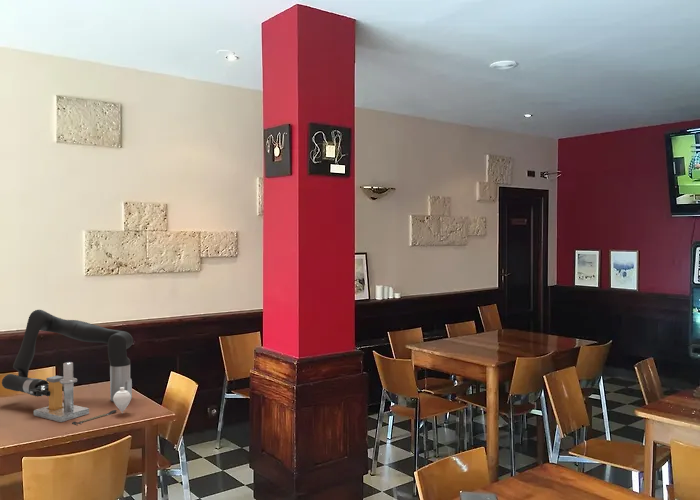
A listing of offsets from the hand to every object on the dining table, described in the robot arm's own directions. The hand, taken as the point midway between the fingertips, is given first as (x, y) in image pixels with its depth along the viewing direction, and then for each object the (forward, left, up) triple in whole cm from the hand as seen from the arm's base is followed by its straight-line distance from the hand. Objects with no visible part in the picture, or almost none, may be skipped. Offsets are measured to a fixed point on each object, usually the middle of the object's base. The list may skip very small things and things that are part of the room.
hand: (58, 391), depth 267 cm
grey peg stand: (-2, +1, -10) cm, 11 cm away
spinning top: (-29, 0, -10) cm, 30 cm away
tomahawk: (-20, +7, -11) cm, 24 cm away
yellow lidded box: (+2, -1, -10) cm, 10 cm away
